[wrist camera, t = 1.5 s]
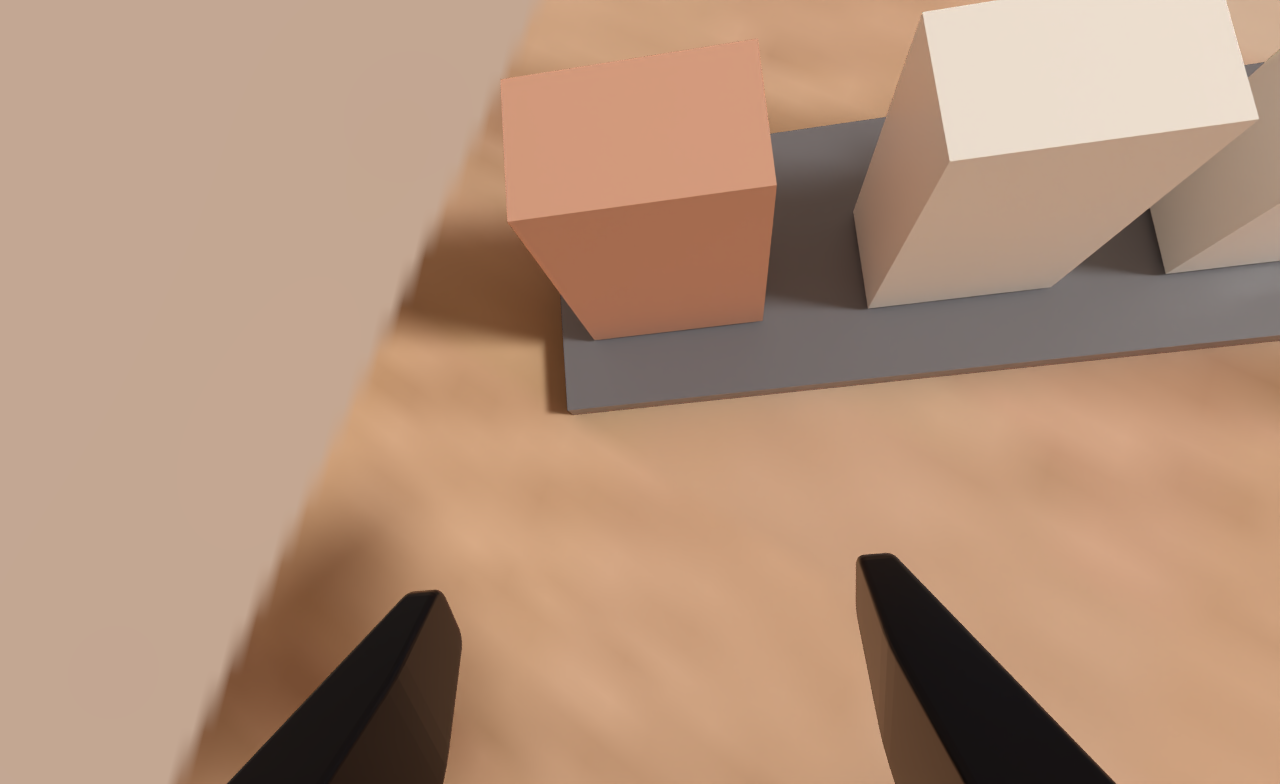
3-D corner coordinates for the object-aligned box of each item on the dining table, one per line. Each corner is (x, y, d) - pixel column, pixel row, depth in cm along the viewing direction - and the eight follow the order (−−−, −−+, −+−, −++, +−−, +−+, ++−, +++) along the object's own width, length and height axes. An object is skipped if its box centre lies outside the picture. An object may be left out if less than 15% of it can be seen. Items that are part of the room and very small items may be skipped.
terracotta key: (762, 320, 22) (776, 185, 13) (594, 340, 22) (507, 222, 14) (751, 225, 22) (758, 38, 14) (587, 246, 23) (500, 79, 14)
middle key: (1050, 287, 21) (1259, 118, 12) (867, 308, 21) (949, 161, 13) (1030, 188, 21) (1215, -35, 13) (853, 211, 22) (922, 12, 14)
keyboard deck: (1396, 328, 20) (1423, 320, 19) (573, 414, 23) (567, 410, 22) (1317, 69, 22) (1339, 51, 21) (558, 177, 24) (552, 165, 24)
